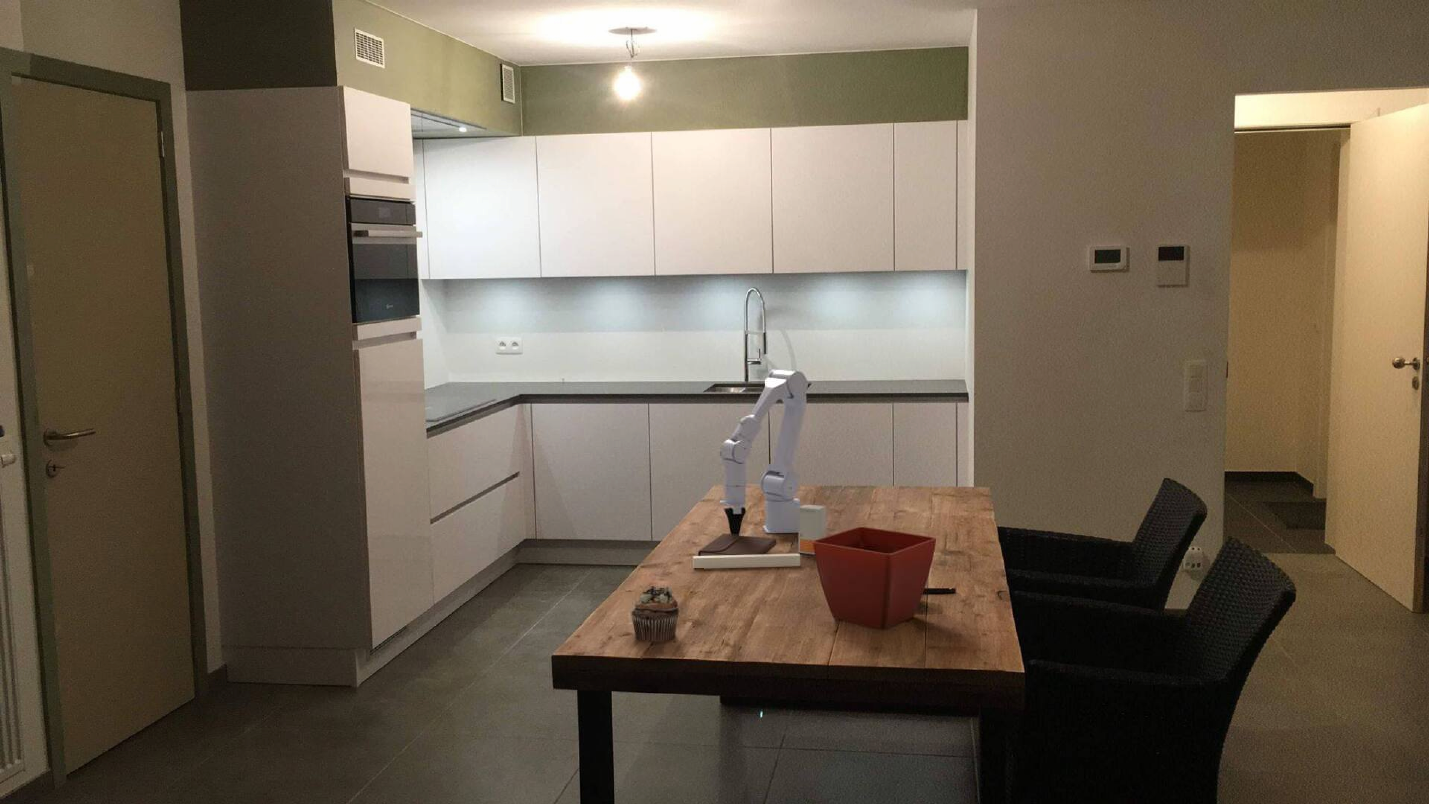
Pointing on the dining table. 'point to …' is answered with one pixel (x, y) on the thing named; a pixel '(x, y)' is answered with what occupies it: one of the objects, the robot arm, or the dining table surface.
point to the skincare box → (811, 527)
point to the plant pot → (874, 574)
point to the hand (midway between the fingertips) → (734, 535)
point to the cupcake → (655, 615)
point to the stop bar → (746, 561)
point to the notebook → (737, 545)
